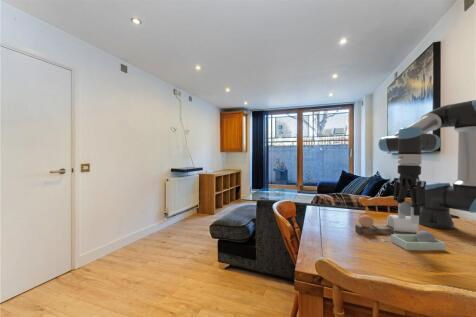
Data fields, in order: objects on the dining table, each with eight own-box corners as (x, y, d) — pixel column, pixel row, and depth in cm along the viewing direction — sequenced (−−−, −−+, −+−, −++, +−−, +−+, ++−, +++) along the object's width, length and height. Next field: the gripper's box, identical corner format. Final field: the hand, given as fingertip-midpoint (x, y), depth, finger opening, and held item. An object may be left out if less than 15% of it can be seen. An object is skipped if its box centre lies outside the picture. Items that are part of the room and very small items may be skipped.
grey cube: (409, 214, 90) (409, 200, 90) (421, 218, 84) (421, 203, 84) (395, 214, 90) (395, 200, 90) (406, 218, 84) (406, 203, 84)
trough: (425, 242, 92) (425, 234, 91) (445, 251, 83) (445, 242, 83) (390, 242, 92) (390, 234, 92) (406, 251, 83) (406, 242, 83)
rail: (387, 232, 104) (387, 224, 104) (393, 235, 100) (393, 227, 100) (355, 231, 104) (355, 224, 104) (359, 234, 100) (360, 227, 100)
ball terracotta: (368, 225, 105) (368, 213, 105) (376, 229, 99) (376, 216, 99) (356, 225, 105) (356, 213, 105) (363, 229, 99) (363, 216, 99)
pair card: (383, 239, 95) (383, 237, 95) (393, 244, 89) (393, 243, 89) (366, 239, 95) (366, 237, 95) (374, 244, 89) (374, 243, 89)
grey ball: (426, 242, 90) (426, 228, 90) (439, 248, 84) (439, 233, 84) (411, 242, 90) (412, 228, 90) (424, 248, 84) (424, 233, 84)
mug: (418, 235, 100) (418, 218, 100) (394, 233, 102) (394, 217, 102) (403, 227, 112) (404, 212, 112) (382, 225, 114) (383, 211, 114)
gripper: (384, 163, 96) (383, 214, 97) (419, 165, 77) (418, 228, 78) (400, 164, 96) (399, 214, 96) (440, 165, 77) (438, 228, 78)
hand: (408, 220), depth 87 cm, fingers closed on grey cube, 6 cm apart
